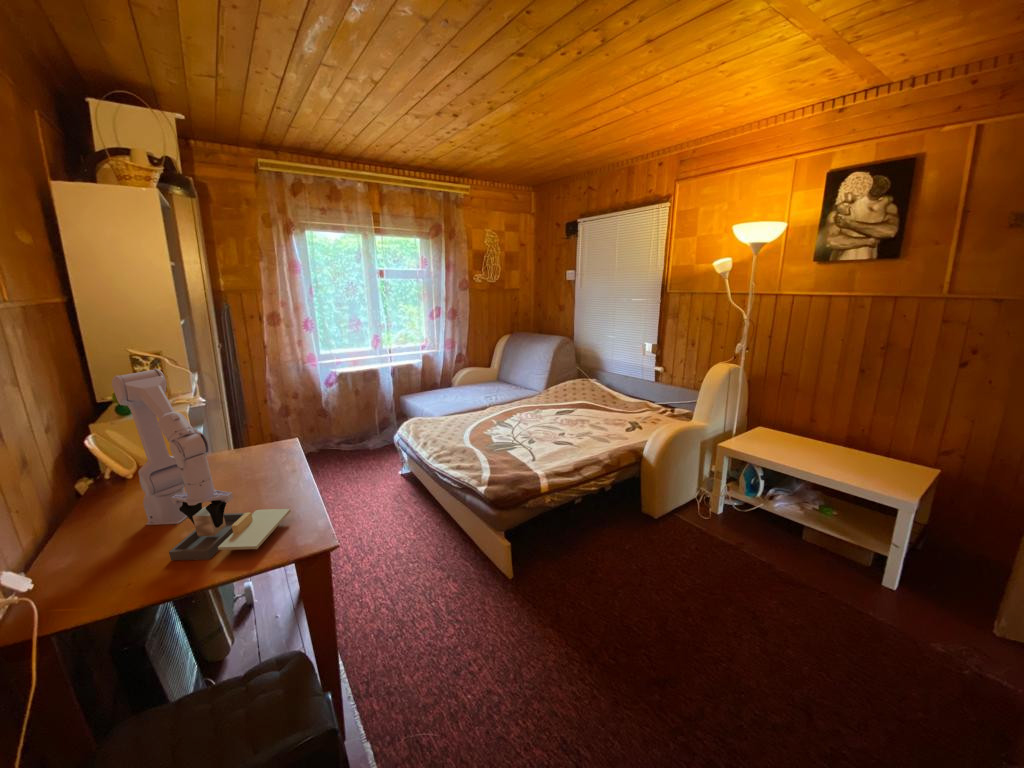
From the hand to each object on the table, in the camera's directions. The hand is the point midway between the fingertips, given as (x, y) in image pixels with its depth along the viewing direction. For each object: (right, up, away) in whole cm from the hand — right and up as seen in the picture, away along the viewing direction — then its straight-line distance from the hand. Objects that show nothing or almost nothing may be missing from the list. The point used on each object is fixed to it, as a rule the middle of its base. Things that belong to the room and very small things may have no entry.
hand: (209, 525), depth 111 cm
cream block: (0, -2, +1) cm, 2 cm away
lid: (+12, -1, 0) cm, 12 cm away
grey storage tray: (0, -4, +1) cm, 4 cm away
